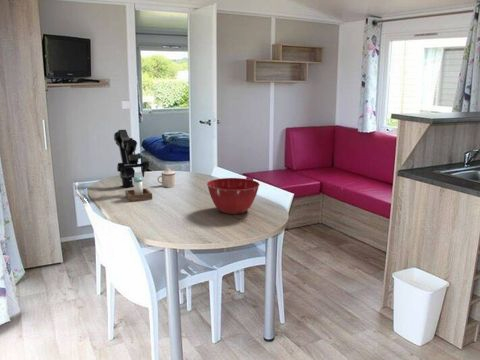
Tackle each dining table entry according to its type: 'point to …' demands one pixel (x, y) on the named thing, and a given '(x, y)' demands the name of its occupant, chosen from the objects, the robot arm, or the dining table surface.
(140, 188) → the canister
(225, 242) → the dining table surface
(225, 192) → the mixing bowl
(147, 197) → the brown wooden tray
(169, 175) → the teacup with lid
